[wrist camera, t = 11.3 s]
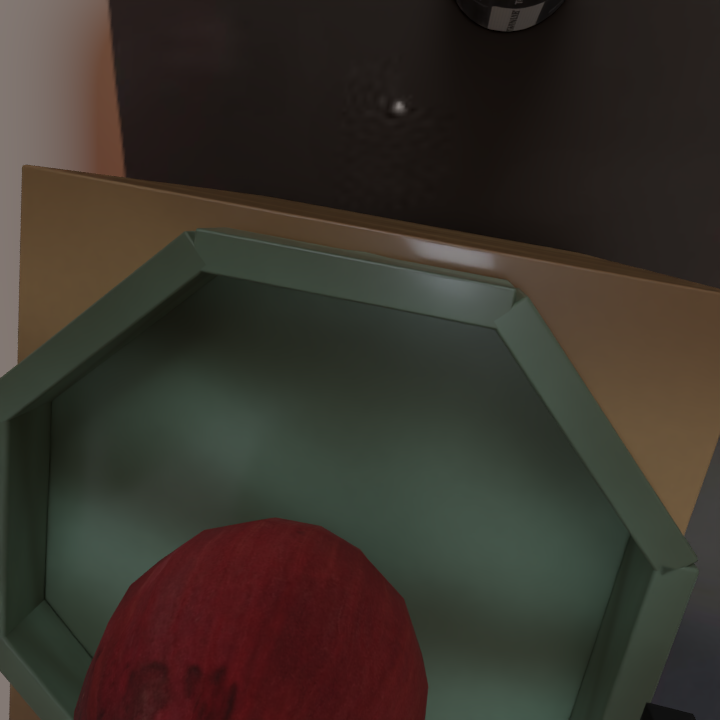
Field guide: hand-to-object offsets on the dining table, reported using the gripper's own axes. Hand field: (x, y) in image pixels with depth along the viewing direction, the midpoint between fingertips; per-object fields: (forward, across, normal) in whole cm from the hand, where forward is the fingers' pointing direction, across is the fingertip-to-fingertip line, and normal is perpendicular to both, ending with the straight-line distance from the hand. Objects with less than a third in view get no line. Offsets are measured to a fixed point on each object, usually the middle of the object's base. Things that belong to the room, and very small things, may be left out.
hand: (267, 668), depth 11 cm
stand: (+22, 0, 0) cm, 22 cm away
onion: (+3, 0, 0) cm, 3 cm away
